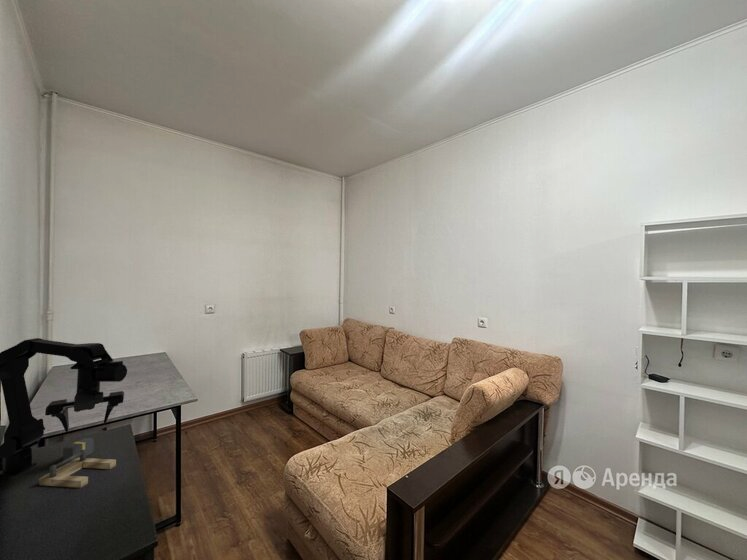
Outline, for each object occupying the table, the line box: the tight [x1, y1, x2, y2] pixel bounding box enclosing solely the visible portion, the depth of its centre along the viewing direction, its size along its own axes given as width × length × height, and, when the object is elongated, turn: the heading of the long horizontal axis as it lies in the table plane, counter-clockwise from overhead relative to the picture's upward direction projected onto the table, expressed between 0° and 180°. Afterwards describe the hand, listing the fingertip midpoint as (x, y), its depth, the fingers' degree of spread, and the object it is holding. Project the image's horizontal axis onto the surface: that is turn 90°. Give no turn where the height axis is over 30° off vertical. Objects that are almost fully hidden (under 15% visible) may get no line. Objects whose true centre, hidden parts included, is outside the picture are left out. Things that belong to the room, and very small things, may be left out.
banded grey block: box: [62, 437, 95, 464], centre depth 105 cm, size 4×7×5 cm, turn 175°
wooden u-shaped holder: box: [38, 449, 117, 489], centre depth 95 cm, size 14×11×5 cm
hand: (86, 427), depth 100 cm, fingers open, 9 cm apart
